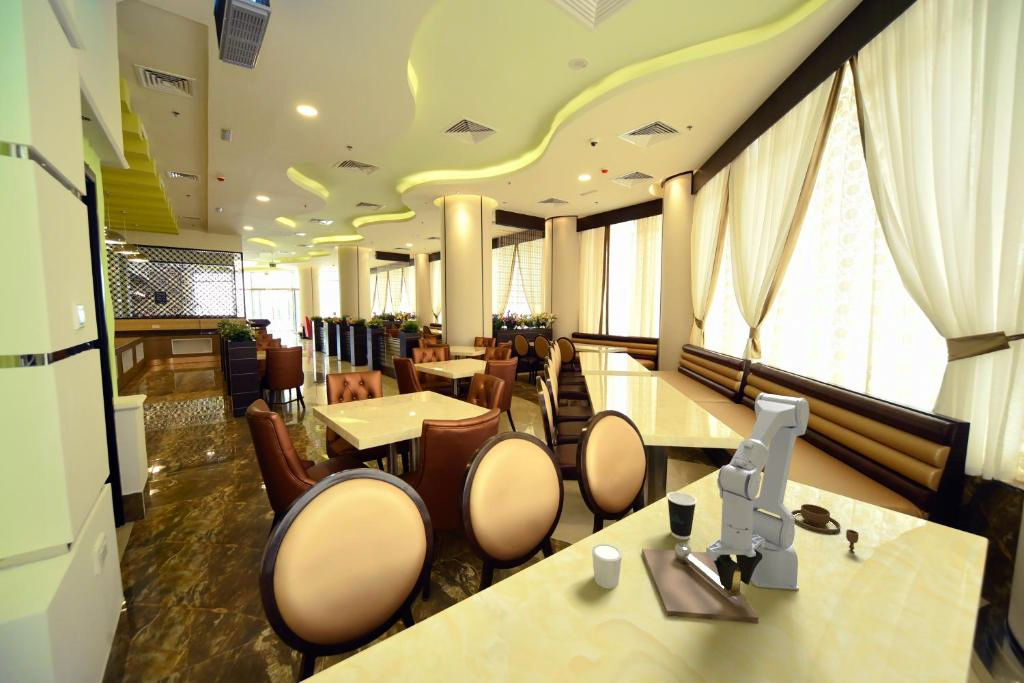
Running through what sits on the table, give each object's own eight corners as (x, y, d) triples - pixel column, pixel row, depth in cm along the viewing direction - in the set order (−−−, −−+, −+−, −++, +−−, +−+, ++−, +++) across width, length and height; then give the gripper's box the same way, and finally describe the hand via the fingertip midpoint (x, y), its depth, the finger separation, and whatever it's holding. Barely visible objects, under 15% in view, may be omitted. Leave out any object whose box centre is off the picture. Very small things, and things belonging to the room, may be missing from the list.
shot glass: (622, 592, 87) (623, 562, 87) (591, 588, 88) (592, 558, 88) (620, 572, 94) (620, 545, 93) (591, 569, 95) (592, 541, 95)
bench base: (713, 557, 100) (713, 552, 100) (758, 623, 78) (758, 617, 78) (642, 552, 102) (642, 548, 102) (667, 616, 80) (667, 610, 80)
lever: (683, 553, 99) (684, 526, 99) (744, 603, 81) (745, 571, 81) (671, 555, 98) (672, 528, 98) (730, 607, 80) (731, 574, 80)
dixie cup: (691, 529, 114) (692, 492, 113) (699, 544, 106) (700, 505, 105) (663, 526, 115) (664, 490, 114) (668, 541, 107) (669, 502, 107)
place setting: (850, 525, 117) (851, 506, 117) (862, 558, 101) (863, 536, 100) (780, 509, 127) (781, 491, 127) (780, 536, 111) (781, 516, 110)
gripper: (727, 539, 76) (724, 605, 76) (779, 526, 80) (777, 588, 81) (698, 521, 82) (697, 582, 83) (749, 510, 87) (746, 568, 88)
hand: (734, 584), depth 83 cm, fingers open, 4 cm apart
